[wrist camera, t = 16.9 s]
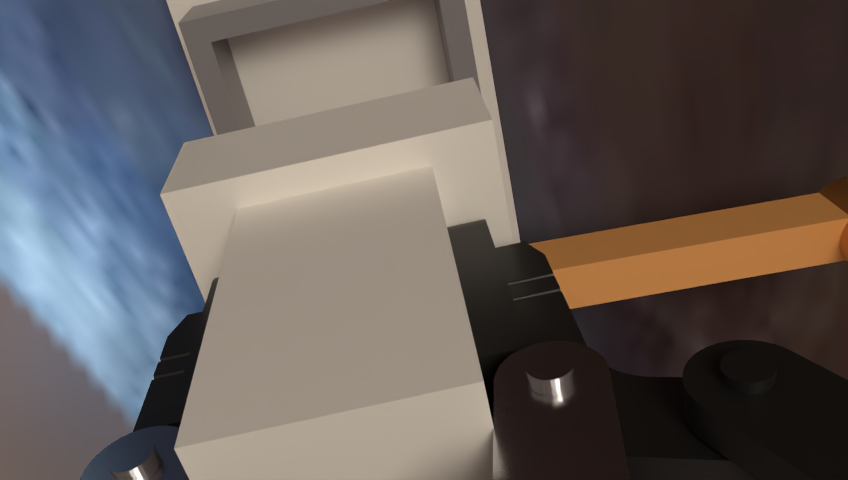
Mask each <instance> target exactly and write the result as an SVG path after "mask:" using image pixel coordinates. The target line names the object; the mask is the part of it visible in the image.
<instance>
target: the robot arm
mask: <svg viewBox="0 0 848 480" xmlns="http://www.w3.org/2000/svg"><path fill="white" fill-rule="evenodd" d="M447 230H448V234H449V238H450V242H451V246H452V251H453V255H454V259H455V263H456V267H457V271H458V276H459V280H460V284H461V288H462V292H463V296H464V301H465V305H466V309H467V313H468V317H469V322H470V326H471V330H472V334H473V338H474V342H475V347H476V351H477V355H478V359H479V363H480V367H481V372H482V376H483V380H484V385H485V389H486V394H487V399H488V403H489V408H490V413H491V417H492V422H493V427H494V428H493V480H848V380H846V379H844V378H842V377H840V376H838V375H837V374H835V373H833V372H831V371H829V370H827V369H825V368H823V367H821V366H819V365H817V364H815V363H814V362H812V361H810V360H808V359H806V358H804V357H802V356H800V355H798V354H796V353H794V352H792V351H790V350H788V349H786V348H784V347H781V346H778V345H775V344H771V343H767V342H762V341H753V340H735V341H726V342H721V343H717V344H714V345H711V346H708V347H706V348H704V349H702V350H700V351H699V352H697V353H696V354H695V355H693V356H692V357H691V358H690V359H689V360H688V362H687V364H686V365H685V367H684V371H683V377H642V376H636V375H630V374H626V373H622V372H619V371H616V370H614V369H611V368H609V366H608V364H607V362H606V360H605V359H604V358H603V357H602V356H601V355H600V354H599V353H598V352H597V351H595V350H594V349H592V348H590V347H588V346H587V345H586V343H585V341H584V339H583V337H582V334H581V332H580V330H579V328H578V326H577V323H576V321H575V319H574V317H573V315H572V312H571V310H570V308H569V306H568V304H567V302H566V299H565V297H564V295H563V293H562V292H561V290H560V286H559V284H558V282H557V280H556V278H555V276H554V274H553V271H552V269H551V267H550V264H549V262H548V260H547V258H546V256H545V254H544V253H542V252H540V251H539V250H537V249H536V248H534V247H533V246H531V245H529V244H528V243H526V242H525V241H524V242H519V243H515V244H510V245H506V246H501V247H497V248H495V245H494V242H493V240H492V237H491V234H490V231H489V228H488V225H487V222H486V220H485V219H482V220H478V221H473V222H469V223H464V224H460V225H455V226H451V227H447ZM218 279H219V277H218V278H214V279H213V281H212V284H211V287H210V291H209V294H208V297H207V300H206V303H205V307H204V310H203V312H199V313H194V314H190V315H187V316H186V317H185V318H184V319H183V320H182V322H181V323H180V324H179V325H178V326H177V327H176V328H175V329H174V330H173V331H172V333H171V334H170V335H169V336H168V337H167V340H166V343H165V346H164V348H163V351H162V354H161V357H160V360H161V362H158V365H157V368H156V370H155V373H154V380H152V381H151V384H150V387H149V389H148V392H147V395H146V398H145V400H144V403H143V406H142V408H141V411H140V414H139V417H138V419H137V422H136V425H135V428H134V430H133V432H132V433H130V434H128V435H126V436H123V437H121V438H120V439H118V440H116V441H115V442H113V443H112V444H110V445H109V446H107V447H106V448H104V449H103V450H102V451H101V452H100V453H99V454H98V455H96V456H95V458H94V459H93V460H92V461H91V462H90V463H89V465H88V466H87V467H86V469H85V470H84V472H83V474H82V476H81V478H80V480H189V478H188V476H187V474H186V472H185V470H184V468H183V466H182V464H181V462H180V460H179V458H178V456H177V454H176V452H175V450H174V447H175V443H176V439H177V435H178V432H179V428H180V424H181V420H182V416H183V412H184V409H185V405H186V401H187V397H188V393H189V390H190V386H191V382H192V378H193V374H194V370H195V367H196V363H197V359H198V355H199V351H200V348H201V344H202V340H203V336H204V332H205V328H206V325H207V321H208V317H209V313H210V309H211V306H212V302H213V298H214V294H215V290H216V286H217V283H218Z"/></svg>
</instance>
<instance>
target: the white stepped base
mask: <svg viewBox="0 0 848 480" xmlns="http://www.w3.org/2000/svg"><path fill="white" fill-rule="evenodd" d="M166 1H167V4H168V7H169V10H170V13H171V15H172V18H173V21H174V24H175V27H176V30H177V32H178V35H179V38H180V41H181V44H182V47H183V49H184V52H185V55H186V58H187V61H188V64H189V66H190V69H191V72H192V75H193V78H194V80H195V83H196V86H197V89H198V92H199V95H200V97H201V100H202V103H203V106H204V109H205V112H206V114H207V117H208V120H209V123H210V126H211V129H212V131H213V134H214V136H216V135H220V134H224V133H229V132H233V131H238V130H242V129H247V128H251V127H255V126H260V125H264V124H269V123H273V122H277V121H282V120H286V119H291V118H295V117H300V116H304V115H308V114H313V113H317V112H322V111H326V110H330V109H335V108H339V107H344V106H348V105H352V104H357V103H361V102H366V101H370V100H375V99H379V98H383V97H388V96H392V95H397V94H401V93H405V92H410V91H414V90H419V89H423V88H428V87H432V86H436V85H441V84H445V83H450V82H454V81H458V80H463V79H467V78H472V77H473V78H474V81H475V83H476V85H477V87H478V89H479V91H480V94H481V96H482V98H483V100H484V102H485V104H486V107H487V109H488V111H489V113H490V115H491V118H492V120H493V126H494V132H495V138H496V144H497V149H498V155H499V161H500V167H501V173H502V179H503V185H504V191H505V197H506V203H507V208H508V214H509V220H510V226H511V232H512V238H513V244H515V243H519V242H520V237H519V231H518V225H517V219H516V213H515V207H514V201H513V195H512V189H511V183H510V177H509V171H508V165H507V159H506V154H505V148H504V142H503V136H502V130H501V124H500V118H499V112H498V106H497V100H496V94H495V88H494V82H493V76H492V70H491V64H490V58H489V52H488V46H487V40H486V34H485V28H484V22H483V16H482V10H481V4H480V0H166Z"/></svg>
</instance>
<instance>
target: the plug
mask: <svg viewBox="0 0 848 480" xmlns="http://www.w3.org/2000/svg"><path fill="white" fill-rule="evenodd" d="M160 196H161V198H162V200H163V203H164V205H165V207H166V210H167V212H168V215H169V217H170V219H171V222H172V224H173V227H174V229H175V231H176V234H177V236H178V239H179V241H180V243H181V246H182V248H183V250H184V253H185V255H186V258H187V260H188V262H189V265H190V267H191V270H192V272H193V274H194V277H195V279H196V282H197V284H198V286H199V289H200V291H201V293H202V296H203V298H204V301H205V303H206V300H207V297H208V294H209V291H210V287H211V284H212V281H213V279H214V278H218V277H219V279H218V283H217V286H216V290H215V294H214V298H213V302H212V306H211V309H210V313H209V317H208V321H207V325H206V328H205V332H204V336H203V340H202V344H201V348H200V351H199V355H198V359H197V363H196V367H195V370H194V374H193V378H192V382H191V386H190V390H189V393H188V397H187V401H186V405H185V409H184V412H183V416H182V420H181V424H180V428H179V432H178V435H177V439H176V443H175V447H174V450H175V452H176V454H177V456H178V458H179V460H180V462H181V464H182V466H183V468H184V470H185V472H186V474H187V476H188V478H189V480H493V428H494V427H493V422H492V417H491V413H490V408H489V403H488V399H487V394H486V389H485V385H484V380H483V376H482V372H481V367H480V363H479V359H478V355H477V351H476V347H475V342H474V338H473V334H472V330H471V326H470V322H469V317H468V313H467V309H466V305H465V301H464V296H463V292H462V288H461V284H460V280H459V276H458V271H457V267H456V263H455V259H454V255H453V251H452V246H451V242H450V238H449V234H448V230H447V227H451V226H455V225H460V224H464V223H469V222H473V221H478V220H482V219H485V220H486V222H487V225H488V228H489V231H490V234H491V237H492V240H493V242H494V245H495V248H497V247H501V246H506V245H510V244H513V238H512V232H511V226H510V220H509V214H508V208H507V203H506V197H505V191H504V185H503V179H502V173H501V167H500V161H499V155H498V149H497V144H496V138H495V132H494V126H493V120H492V118H491V115H490V113H489V111H488V109H487V107H486V104H485V102H484V100H483V98H482V96H481V94H480V91H479V89H478V87H477V85H476V83H475V81H474V78H473V77H472V78H467V79H463V80H458V81H454V82H450V83H445V84H441V85H436V86H432V87H428V88H423V89H419V90H414V91H410V92H405V93H401V94H397V95H392V96H388V97H383V98H379V99H375V100H370V101H366V102H361V103H357V104H352V105H348V106H344V107H339V108H335V109H330V110H326V111H322V112H317V113H313V114H308V115H304V116H300V117H295V118H291V119H286V120H282V121H277V122H273V123H269V124H264V125H260V126H255V127H251V128H247V129H242V130H238V131H233V132H229V133H224V134H220V135H216V136H211V137H207V138H202V139H198V140H194V141H189V142H185V143H184V144H183V146H182V148H181V150H180V153H179V155H178V157H177V159H176V161H175V163H174V165H173V168H172V170H171V172H170V174H169V176H168V178H167V180H166V183H165V185H164V187H163V189H162V191H161V193H160Z"/></svg>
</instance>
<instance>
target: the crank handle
mask: <svg viewBox="0 0 848 480" xmlns="http://www.w3.org/2000/svg"><path fill="white" fill-rule="evenodd" d="M529 245H531V246H533V247H534V248H536V249H537V250H539V251H540V252H542V253H544V254H545V256H546V258H547V260H548V262H549V264H550V267H551V269H552V271H553V274H554V276H555V278H556V280H557V282H558V284H559V286H560V290H561V292H562V293H563V295H564V297H565V299H566V302H567V304H568V306H569V308H570V309H573V308H578V307H584V306H590V305H595V304H601V303H607V302H612V301H618V300H623V299H629V298H635V297H640V296H646V295H652V294H657V293H663V292H669V291H674V290H680V289H686V288H691V287H697V286H703V285H708V284H714V283H720V282H725V281H731V280H737V279H742V278H748V277H754V276H759V275H765V274H770V273H776V272H782V271H787V270H793V269H799V268H804V267H810V266H816V265H821V264H827V263H833V262H838V261H844V260H847V261H848V177H843V178H840V179H837V180H835V181H833V182H831V183H830V184H828V185H827V186H826V187H824V188H823V189H822V190H821V191H820V192H819V193H814V194H809V195H803V196H797V197H792V198H786V199H780V200H775V201H769V202H763V203H758V204H752V205H746V206H741V207H735V208H729V209H724V210H718V211H712V212H707V213H701V214H695V215H690V216H684V217H678V218H673V219H667V220H661V221H655V222H650V223H644V224H638V225H633V226H627V227H621V228H616V229H610V230H604V231H599V232H593V233H587V234H582V235H576V236H570V237H565V238H559V239H553V240H548V241H542V242H536V243H531V244H529Z"/></svg>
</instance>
